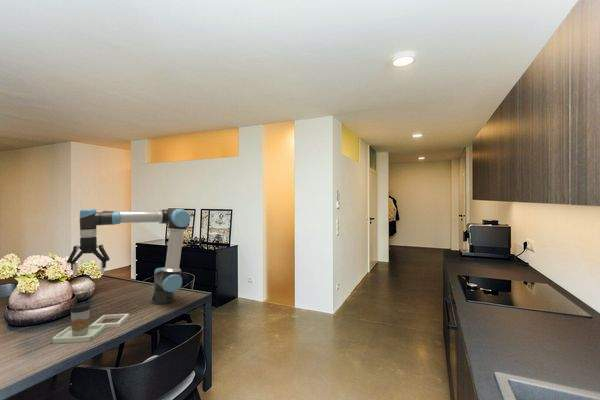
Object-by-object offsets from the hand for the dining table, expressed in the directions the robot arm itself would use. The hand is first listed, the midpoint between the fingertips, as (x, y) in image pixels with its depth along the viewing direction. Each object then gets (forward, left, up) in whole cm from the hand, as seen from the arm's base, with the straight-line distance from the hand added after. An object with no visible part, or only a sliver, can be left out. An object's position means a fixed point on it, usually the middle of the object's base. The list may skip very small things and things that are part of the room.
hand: (88, 274), depth 160 cm
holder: (-11, -2, -28) cm, 30 cm away
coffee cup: (-3, +13, -28) cm, 31 cm away
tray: (-3, +13, -28) cm, 31 cm away
